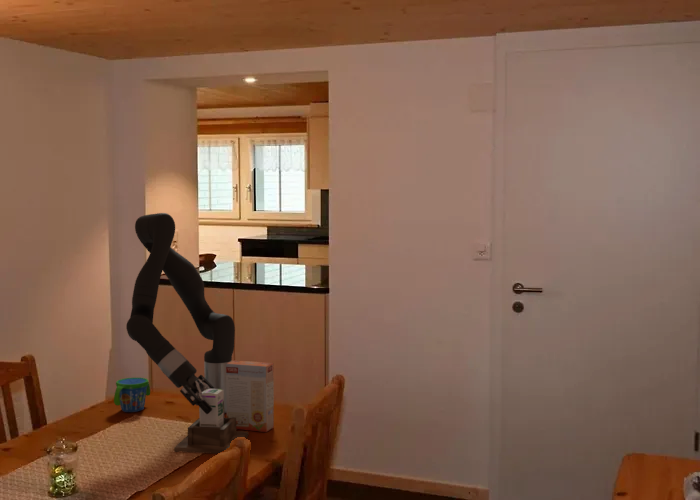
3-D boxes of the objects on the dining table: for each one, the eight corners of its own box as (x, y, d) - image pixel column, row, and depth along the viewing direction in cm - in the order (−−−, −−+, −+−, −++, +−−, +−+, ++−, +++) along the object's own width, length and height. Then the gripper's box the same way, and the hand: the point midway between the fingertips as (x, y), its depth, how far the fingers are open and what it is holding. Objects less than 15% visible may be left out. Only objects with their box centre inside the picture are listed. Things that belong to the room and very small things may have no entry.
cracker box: (274, 427, 237) (274, 362, 236) (266, 433, 232) (266, 366, 230) (235, 423, 242) (234, 359, 240) (225, 428, 236) (225, 362, 235)
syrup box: (218, 442, 219) (217, 393, 218) (199, 441, 220) (198, 392, 219) (225, 436, 224) (224, 388, 223) (206, 435, 225) (205, 387, 224)
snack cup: (139, 402, 265) (138, 374, 265) (160, 407, 260) (160, 378, 259) (103, 413, 252) (103, 383, 251) (125, 418, 246) (125, 387, 246)
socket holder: (195, 432, 231) (194, 413, 231) (248, 435, 229) (248, 415, 229) (174, 451, 215) (174, 430, 214) (231, 454, 212) (231, 433, 212)
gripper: (176, 364, 214) (215, 406, 213) (193, 354, 228) (230, 393, 227) (159, 382, 215) (198, 423, 214) (177, 371, 229) (213, 409, 229)
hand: (214, 407), depth 221 cm, fingers open, 8 cm apart
